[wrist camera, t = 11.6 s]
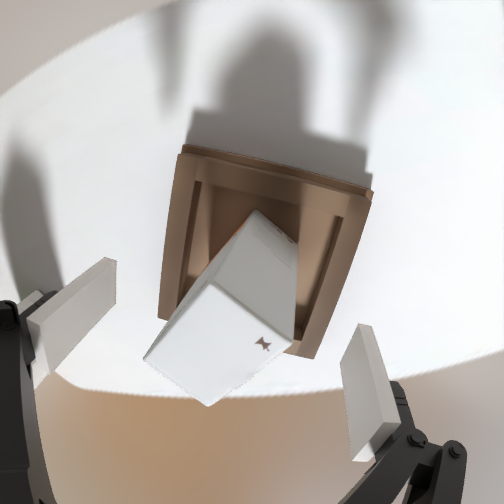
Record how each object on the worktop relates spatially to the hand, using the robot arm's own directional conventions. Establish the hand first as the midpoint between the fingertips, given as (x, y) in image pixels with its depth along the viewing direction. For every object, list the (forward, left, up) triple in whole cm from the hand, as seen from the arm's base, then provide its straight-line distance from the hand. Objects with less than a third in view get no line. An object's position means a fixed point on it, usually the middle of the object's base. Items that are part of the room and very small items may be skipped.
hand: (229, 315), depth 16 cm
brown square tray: (0, 0, -10) cm, 10 cm away
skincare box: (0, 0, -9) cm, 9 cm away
